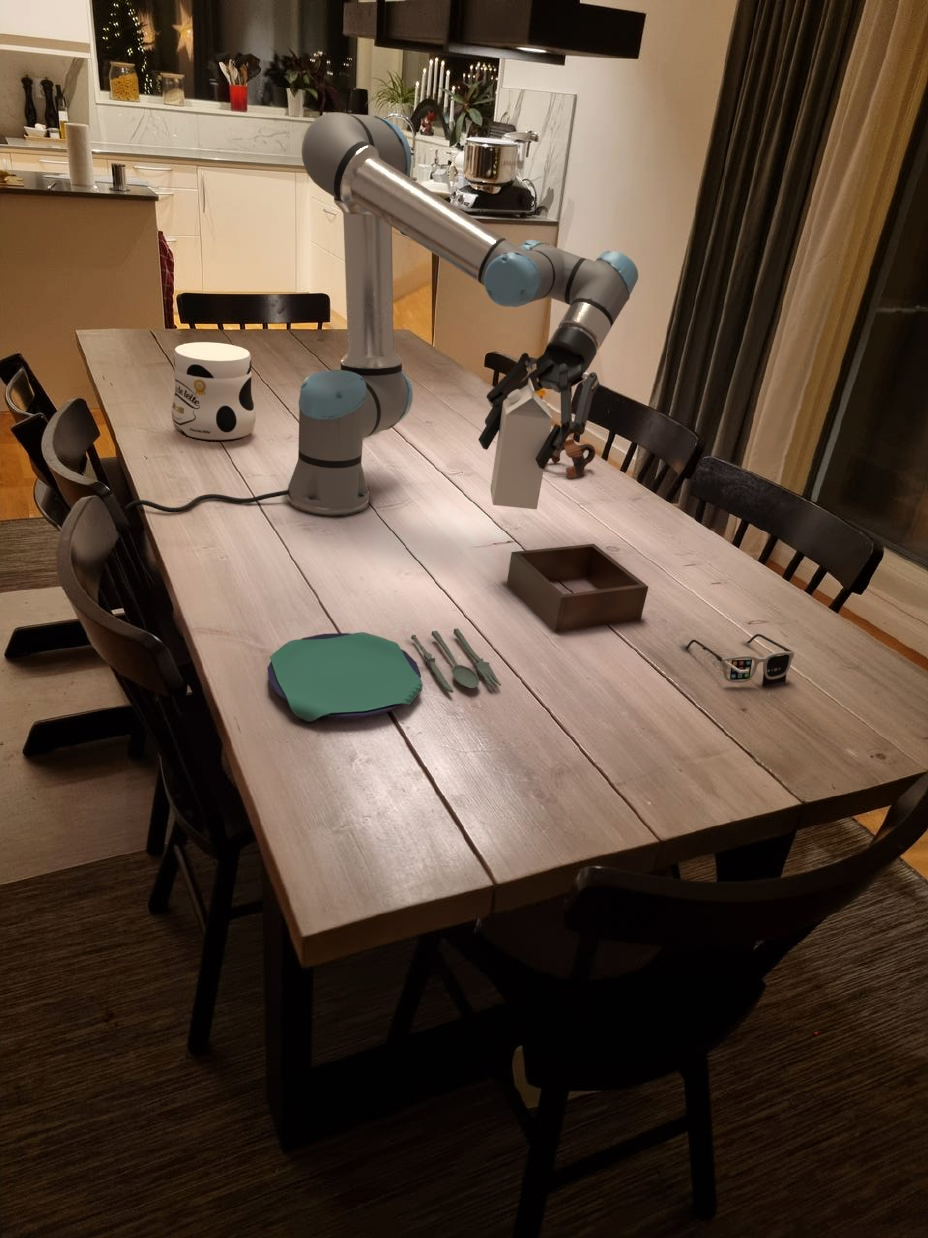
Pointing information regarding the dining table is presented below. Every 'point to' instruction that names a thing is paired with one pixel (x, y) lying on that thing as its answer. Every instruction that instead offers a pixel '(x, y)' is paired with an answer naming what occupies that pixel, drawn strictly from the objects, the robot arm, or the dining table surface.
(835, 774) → the dining table surface
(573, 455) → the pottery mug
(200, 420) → the milk container
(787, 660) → the smart glasses
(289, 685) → the cutlery set
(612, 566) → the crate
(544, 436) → the milk carton
